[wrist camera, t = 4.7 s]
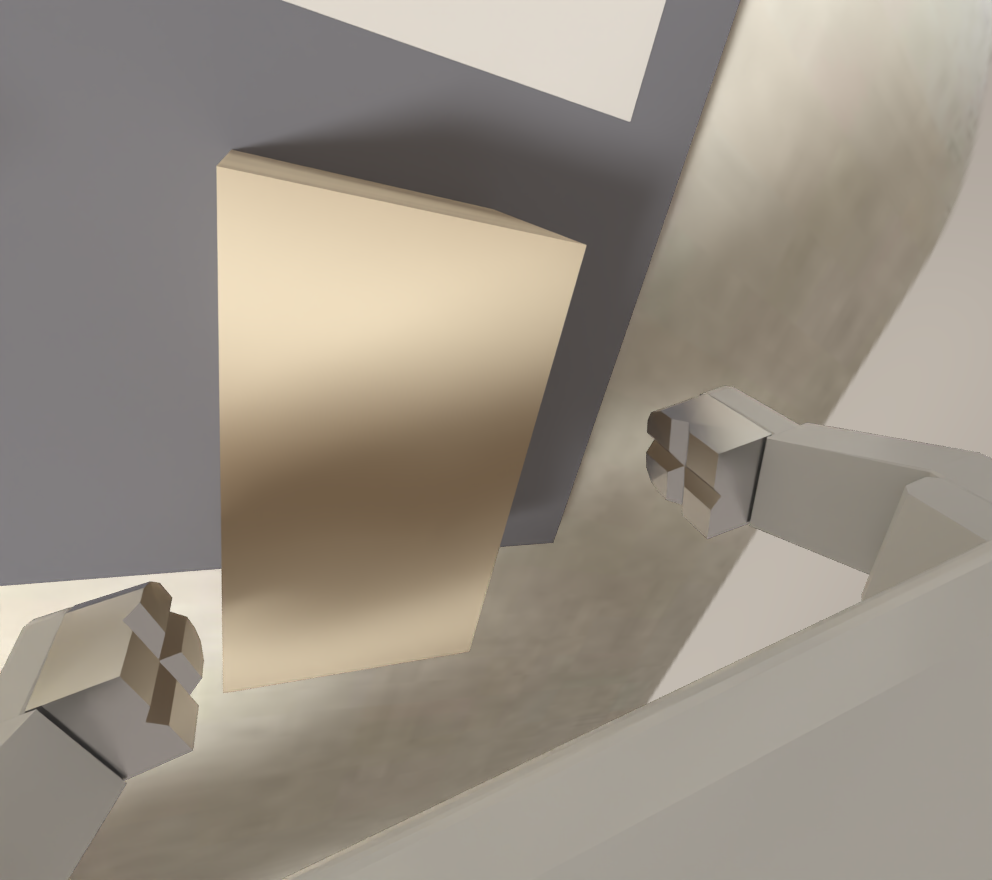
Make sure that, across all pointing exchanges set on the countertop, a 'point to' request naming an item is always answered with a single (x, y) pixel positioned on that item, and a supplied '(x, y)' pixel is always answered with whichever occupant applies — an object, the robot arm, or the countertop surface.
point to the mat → (312, 143)
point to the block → (370, 412)
